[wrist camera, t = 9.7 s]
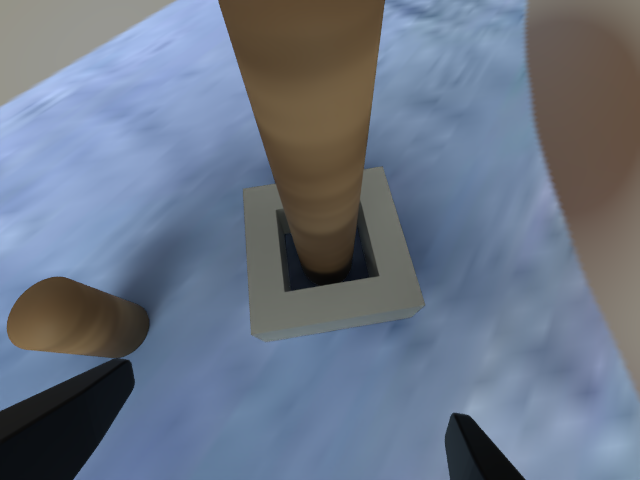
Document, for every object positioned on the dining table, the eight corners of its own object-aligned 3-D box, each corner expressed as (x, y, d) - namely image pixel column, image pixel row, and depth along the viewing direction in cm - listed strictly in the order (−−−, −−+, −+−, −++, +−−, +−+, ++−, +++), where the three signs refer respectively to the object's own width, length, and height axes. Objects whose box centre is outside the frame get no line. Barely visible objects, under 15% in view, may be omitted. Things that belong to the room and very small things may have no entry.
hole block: (410, 317, 16) (425, 305, 14) (265, 342, 16) (251, 334, 14) (376, 195, 20) (382, 166, 17) (255, 215, 20) (242, 188, 17)
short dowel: (146, 352, 16) (73, 343, 12) (91, 362, 16) (-3, 355, 12) (151, 299, 18) (87, 271, 13) (100, 307, 18) (18, 282, 13)
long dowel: (361, 269, 18) (423, -9, 5) (318, 296, 17) (266, 60, 4) (334, 231, 19) (327, -73, 6) (292, 255, 18) (192, -25, 6)
